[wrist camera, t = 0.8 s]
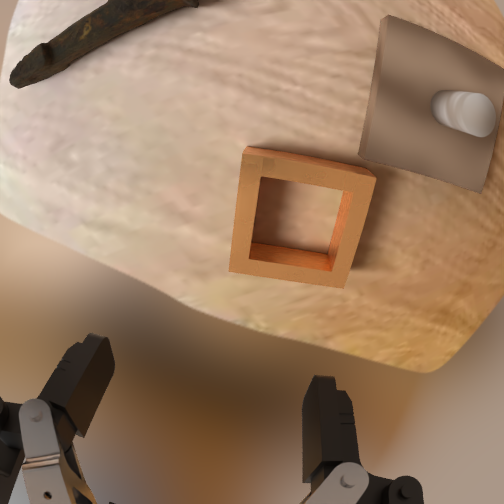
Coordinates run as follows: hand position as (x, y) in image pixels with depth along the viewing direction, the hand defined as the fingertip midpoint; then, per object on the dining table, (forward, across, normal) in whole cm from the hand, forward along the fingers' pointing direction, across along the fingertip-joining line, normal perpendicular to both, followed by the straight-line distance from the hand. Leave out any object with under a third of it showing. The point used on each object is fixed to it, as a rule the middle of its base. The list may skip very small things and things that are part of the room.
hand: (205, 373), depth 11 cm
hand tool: (+18, +15, -14) cm, 27 cm away
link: (+18, -4, 0) cm, 18 cm away
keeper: (+18, -14, -12) cm, 26 cm away
